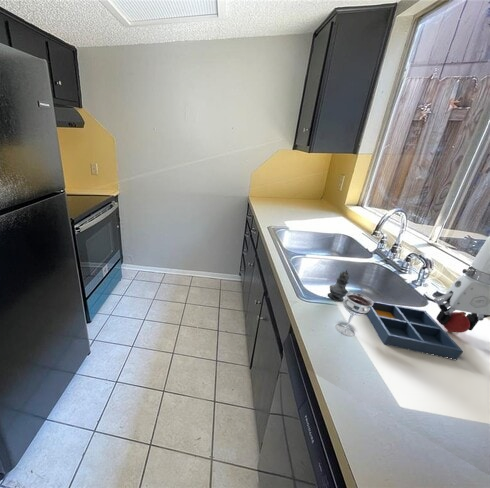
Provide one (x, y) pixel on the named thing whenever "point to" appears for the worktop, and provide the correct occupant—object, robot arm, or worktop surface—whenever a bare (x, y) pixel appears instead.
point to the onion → (457, 322)
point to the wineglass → (354, 309)
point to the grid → (411, 330)
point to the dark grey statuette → (339, 287)
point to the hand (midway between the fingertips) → (453, 324)
